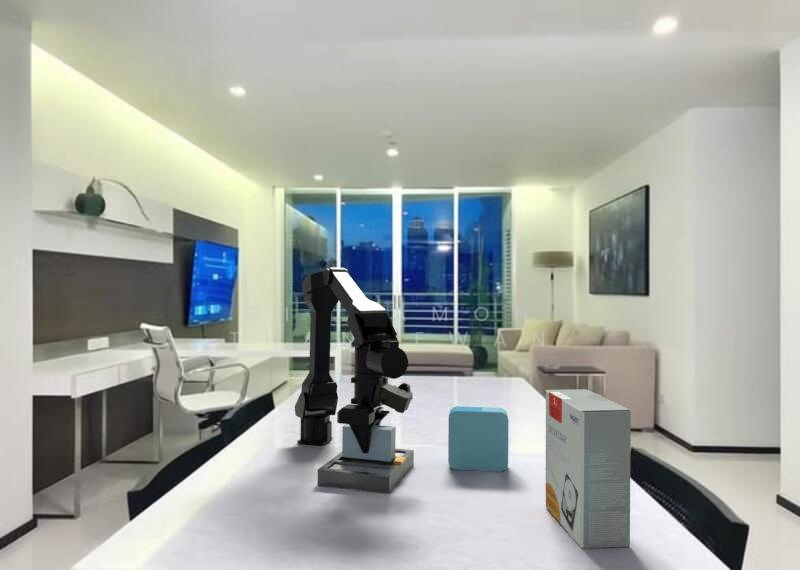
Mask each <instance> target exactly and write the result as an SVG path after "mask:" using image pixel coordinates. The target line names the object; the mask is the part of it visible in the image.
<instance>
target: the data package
mask: <svg viewBox="0 0 800 570" xmlns="http://www.w3.org/2000/svg"><path fill="white" fill-rule="evenodd" d="M447 443H448V445H447V446H448V450H447V451H448V454H447V455H448V456H447V460H448V465H449V467H450V468H452V469H453V470H458V471H476V472H477V471H481V472H499V473H500V472H505V471H506V470H507V468H508V467H509V416H508V413H507V411H506V410H505V409H504V408H501V407H485V406H483V407H482V406H462V405H461V406H460V405H459V406H457V405H456V406H453V407H452V408H451V409H450V410H449V414H448V442H447Z"/></svg>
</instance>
